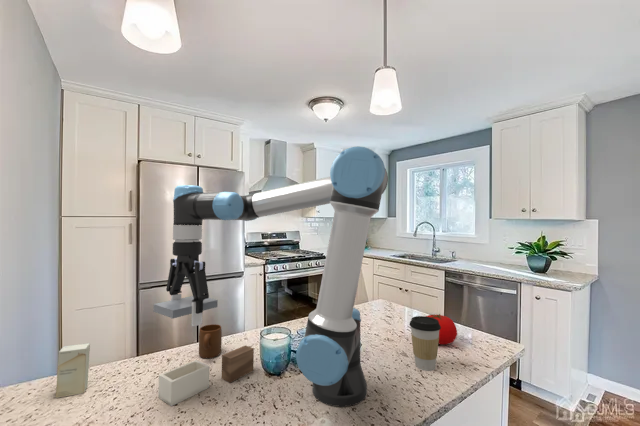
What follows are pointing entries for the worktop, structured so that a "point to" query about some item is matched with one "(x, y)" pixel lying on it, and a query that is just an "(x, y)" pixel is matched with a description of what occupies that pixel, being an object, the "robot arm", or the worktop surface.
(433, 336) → the coffee cup
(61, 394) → the skincare box
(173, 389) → the white open box
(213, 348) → the mug
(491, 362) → the worktop surface
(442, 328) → the tomato
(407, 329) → the worktop surface
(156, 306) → the tile lid
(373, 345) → the worktop surface
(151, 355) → the worktop surface
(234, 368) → the block
